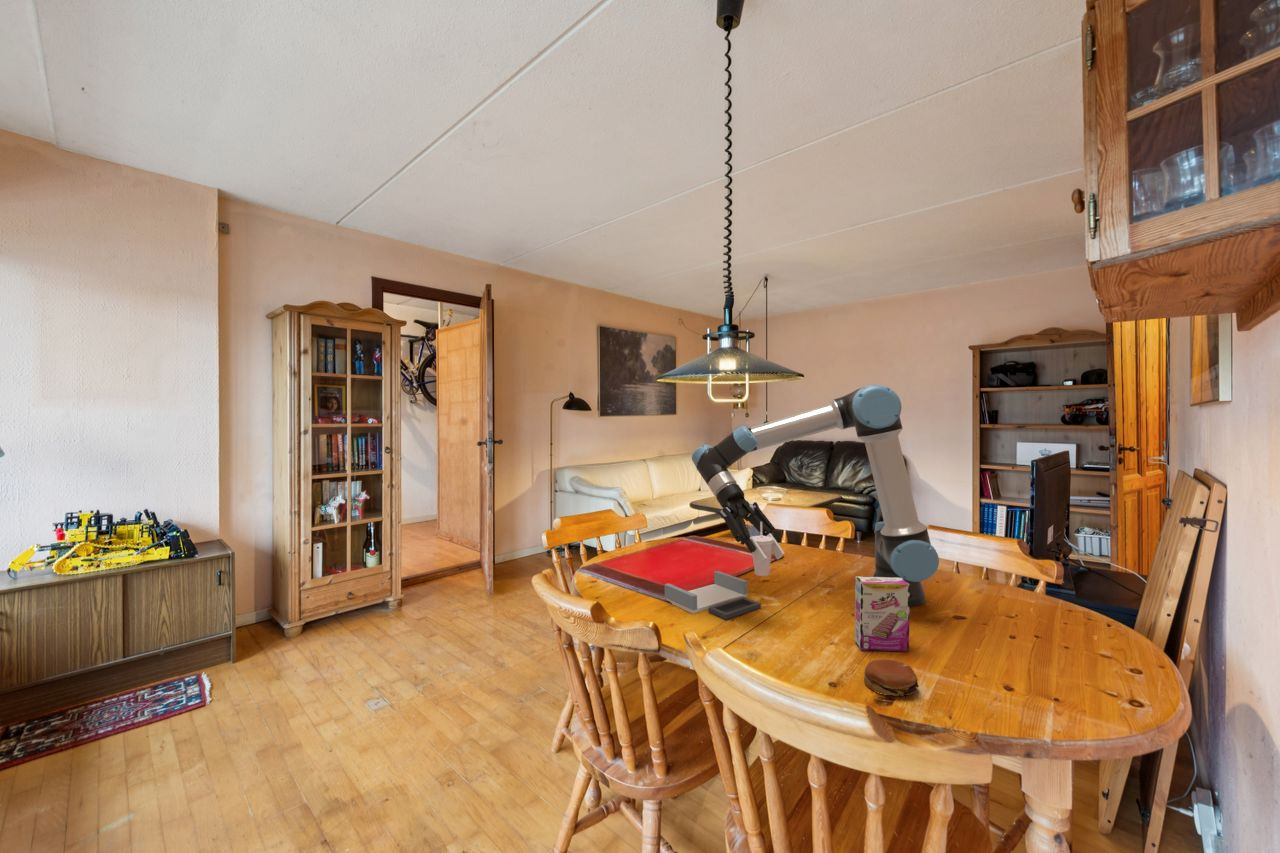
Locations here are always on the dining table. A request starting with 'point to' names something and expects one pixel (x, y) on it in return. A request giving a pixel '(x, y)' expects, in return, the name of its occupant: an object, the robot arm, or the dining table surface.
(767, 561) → the smoothie
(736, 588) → the walled channel
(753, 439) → the robot arm
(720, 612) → the tray
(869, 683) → the burger
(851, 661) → the dining table surface
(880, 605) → the candy bar box
